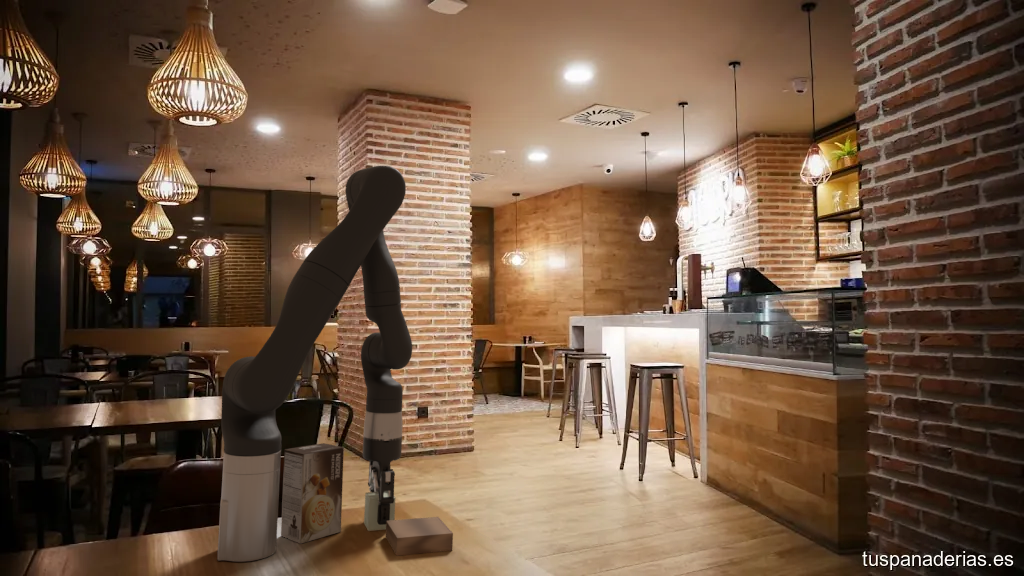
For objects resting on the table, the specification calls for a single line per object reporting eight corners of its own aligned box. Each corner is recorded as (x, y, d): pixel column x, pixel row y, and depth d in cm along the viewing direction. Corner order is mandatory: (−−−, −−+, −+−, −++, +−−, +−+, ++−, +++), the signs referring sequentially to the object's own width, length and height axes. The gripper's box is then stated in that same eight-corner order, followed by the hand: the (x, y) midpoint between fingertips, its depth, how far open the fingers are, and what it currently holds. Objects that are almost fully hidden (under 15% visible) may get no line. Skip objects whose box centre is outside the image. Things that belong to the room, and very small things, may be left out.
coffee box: (320, 525, 130) (324, 442, 131) (341, 532, 126) (345, 446, 127) (279, 536, 123) (283, 448, 124) (300, 544, 119) (304, 453, 120)
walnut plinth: (396, 555, 115) (397, 537, 115) (385, 537, 125) (386, 520, 125) (452, 550, 119) (453, 533, 119) (437, 532, 128) (438, 516, 128)
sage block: (368, 531, 128) (369, 499, 128) (364, 523, 133) (365, 492, 133) (394, 528, 130) (395, 497, 130) (389, 521, 134) (390, 491, 135)
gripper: (358, 428, 137) (354, 508, 136) (369, 441, 124) (365, 530, 123) (394, 427, 140) (391, 506, 139) (409, 440, 127) (406, 527, 126)
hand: (379, 517), depth 131 cm, fingers open, 8 cm apart
